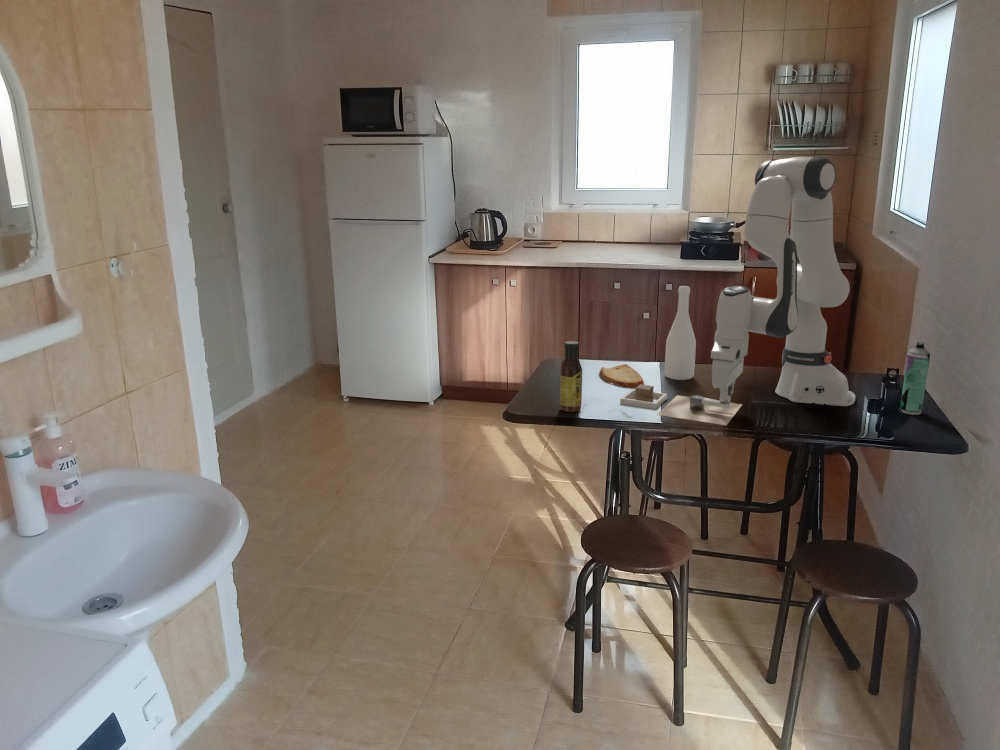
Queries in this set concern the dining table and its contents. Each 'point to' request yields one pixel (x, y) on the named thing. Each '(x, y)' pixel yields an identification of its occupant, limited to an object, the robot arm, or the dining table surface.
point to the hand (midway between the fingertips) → (726, 396)
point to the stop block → (644, 393)
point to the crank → (709, 401)
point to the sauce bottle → (571, 379)
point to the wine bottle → (681, 342)
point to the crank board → (699, 411)
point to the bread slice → (622, 376)
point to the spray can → (915, 380)
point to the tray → (630, 400)
